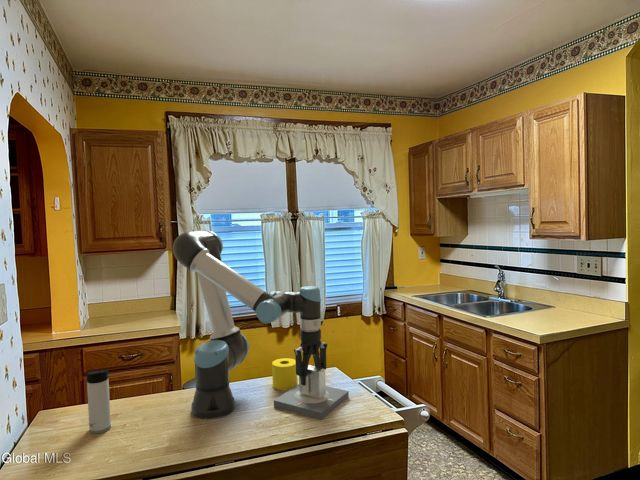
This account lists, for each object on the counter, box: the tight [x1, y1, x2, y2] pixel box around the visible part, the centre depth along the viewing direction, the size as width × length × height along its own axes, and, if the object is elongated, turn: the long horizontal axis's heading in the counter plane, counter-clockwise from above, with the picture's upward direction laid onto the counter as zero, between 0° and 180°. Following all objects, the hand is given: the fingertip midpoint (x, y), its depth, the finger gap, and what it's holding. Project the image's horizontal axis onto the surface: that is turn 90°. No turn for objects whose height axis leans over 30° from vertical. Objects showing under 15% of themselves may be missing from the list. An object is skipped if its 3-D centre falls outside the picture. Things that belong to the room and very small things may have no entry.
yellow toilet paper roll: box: [271, 357, 298, 391], centre depth 175 cm, size 10×10×9 cm
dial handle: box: [298, 364, 327, 399], centre depth 159 cm, size 9×4×10 cm, turn 53°
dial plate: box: [273, 384, 350, 421], centre depth 159 cm, size 20×20×3 cm
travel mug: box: [86, 368, 112, 435], centre depth 141 cm, size 6×7×20 cm
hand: (311, 391), depth 159 cm, fingers closed on dial handle, 5 cm apart
